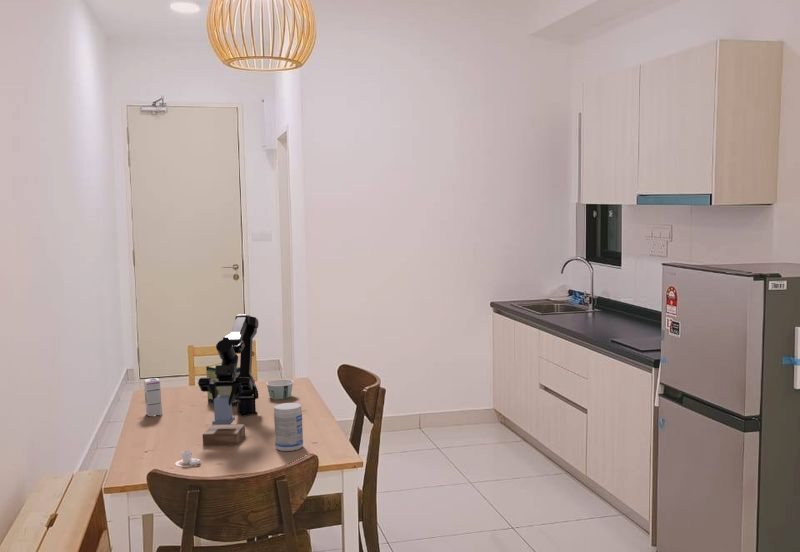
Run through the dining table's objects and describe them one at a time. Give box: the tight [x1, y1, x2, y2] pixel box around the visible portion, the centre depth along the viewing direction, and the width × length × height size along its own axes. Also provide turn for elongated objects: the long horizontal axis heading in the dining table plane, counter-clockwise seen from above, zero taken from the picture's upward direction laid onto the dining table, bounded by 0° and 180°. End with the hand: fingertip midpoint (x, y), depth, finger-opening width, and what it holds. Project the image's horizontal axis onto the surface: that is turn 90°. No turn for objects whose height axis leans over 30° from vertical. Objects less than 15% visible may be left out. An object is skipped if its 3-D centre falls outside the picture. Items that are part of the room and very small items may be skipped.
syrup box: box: [143, 377, 163, 417], centre depth 305 cm, size 6×6×14 cm
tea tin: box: [211, 396, 236, 425], centre depth 270 cm, size 6×6×9 cm
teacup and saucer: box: [174, 449, 202, 468], centre depth 247 cm, size 9×8×4 cm
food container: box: [265, 378, 294, 400], centre depth 330 cm, size 12×12×6 cm
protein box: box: [205, 362, 240, 407], centre depth 324 cm, size 10×16×16 cm
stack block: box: [202, 423, 246, 446], centre depth 270 cm, size 12×12×4 cm
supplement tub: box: [273, 402, 304, 452], centre depth 260 cm, size 10×10×15 cm
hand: (221, 404), depth 268 cm, fingers closed on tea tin, 5 cm apart
